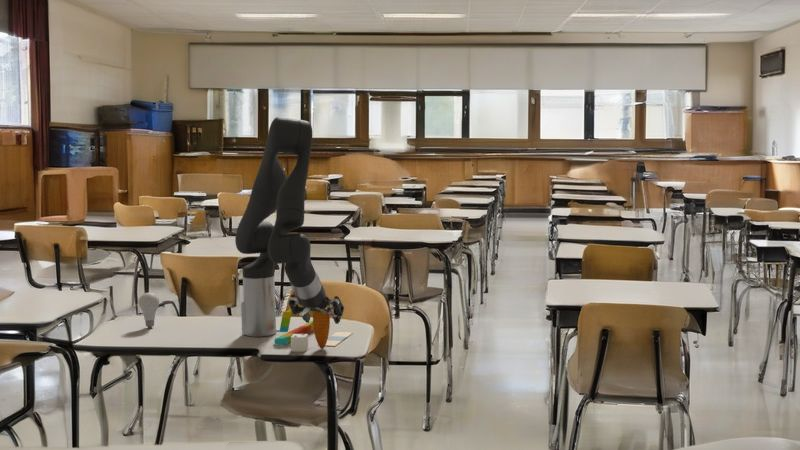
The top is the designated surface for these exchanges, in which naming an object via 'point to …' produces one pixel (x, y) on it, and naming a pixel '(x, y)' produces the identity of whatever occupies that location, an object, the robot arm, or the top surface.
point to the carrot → (321, 327)
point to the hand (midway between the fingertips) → (323, 320)
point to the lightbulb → (149, 307)
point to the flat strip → (337, 338)
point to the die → (299, 342)
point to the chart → (300, 330)
